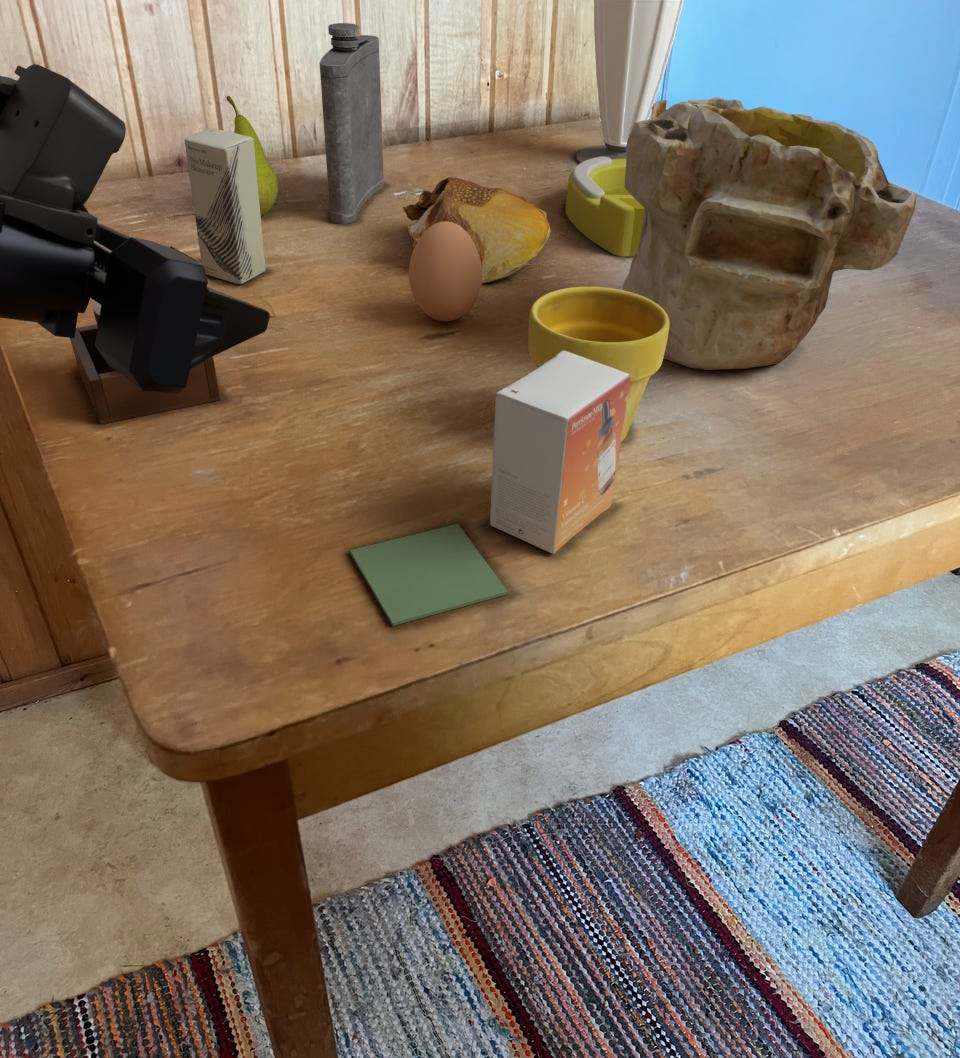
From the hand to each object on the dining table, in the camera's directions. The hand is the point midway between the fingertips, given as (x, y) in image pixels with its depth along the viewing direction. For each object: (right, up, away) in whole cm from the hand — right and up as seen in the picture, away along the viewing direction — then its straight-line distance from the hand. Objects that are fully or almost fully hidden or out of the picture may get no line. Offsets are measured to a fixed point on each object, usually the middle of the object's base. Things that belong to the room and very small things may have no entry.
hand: (221, 294), depth 56 cm
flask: (0, +32, +59) cm, 67 cm away
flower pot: (+23, -3, +23) cm, 33 cm away
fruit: (-11, +28, +55) cm, 63 cm away
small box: (+20, -11, +14) cm, 27 cm away
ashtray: (+33, +28, +57) cm, 72 cm away
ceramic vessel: (+39, +7, +35) cm, 53 cm away
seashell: (+14, +21, +49) cm, 55 cm away
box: (-10, +17, +43) cm, 48 cm away
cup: (+33, +43, +74) cm, 92 cm away
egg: (+12, +11, +37) cm, 40 cm away
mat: (+11, -16, +9) cm, 21 cm away
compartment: (-13, +1, +26) cm, 29 cm away
